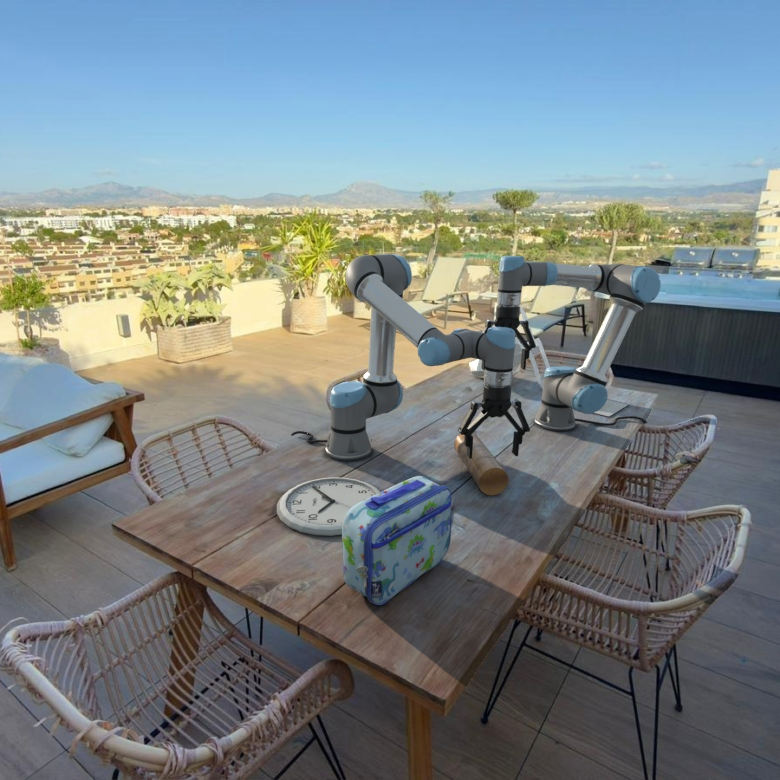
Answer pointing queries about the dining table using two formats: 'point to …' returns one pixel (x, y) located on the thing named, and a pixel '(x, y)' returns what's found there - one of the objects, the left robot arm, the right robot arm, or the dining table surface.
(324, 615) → the dining table surface
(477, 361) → the white plastic object
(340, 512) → the wall clock
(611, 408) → the invitation card
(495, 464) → the rod
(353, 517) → the lunch box
